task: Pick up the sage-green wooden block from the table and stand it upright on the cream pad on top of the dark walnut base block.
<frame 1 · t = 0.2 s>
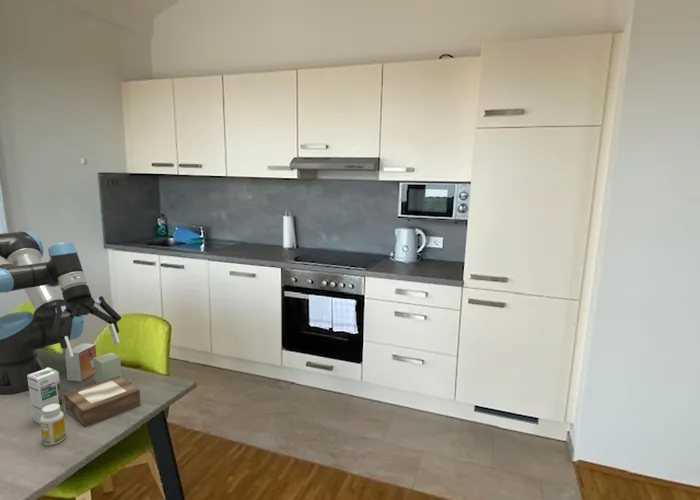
hand: (95, 350, 144), 15 cm above the table, tool tilted 30°, fingers open, 13 cm apart
walnut base: (103, 407, 140), on the table
supplement bottle: (54, 440, 124), on the table
syrup box: (48, 419, 133), on the table
sage block: (109, 382, 155), on the table
small box: (83, 376, 159), on the table
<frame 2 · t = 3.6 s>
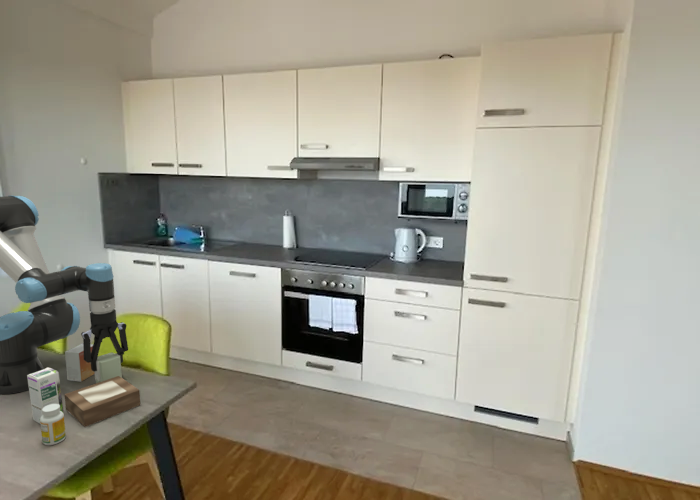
hand: (108, 375, 155), 2 cm above the table, tool pointing down, fingers closed on sage block, 6 cm apart
sage block: (109, 382, 155), on the table, touching gripper
everything else where it was.
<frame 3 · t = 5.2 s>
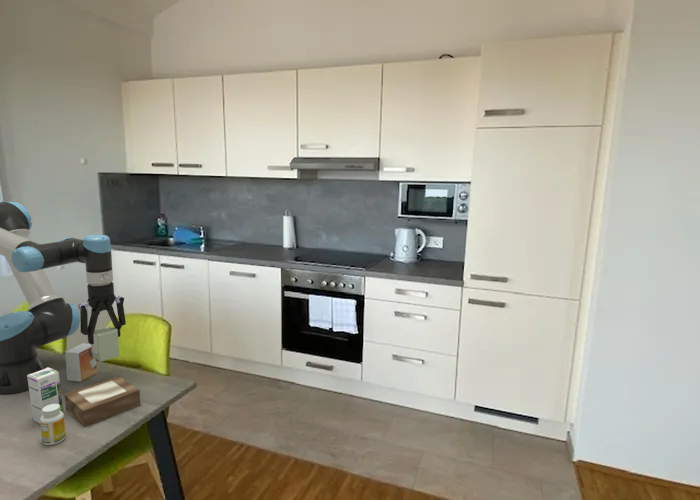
hand: (105, 349, 153), 12 cm above the table, tool pointing down, fingers closed on sage block, 6 cm apart
sage block: (106, 356, 154), point 9 cm above the table, touching gripper
everything else where it was.
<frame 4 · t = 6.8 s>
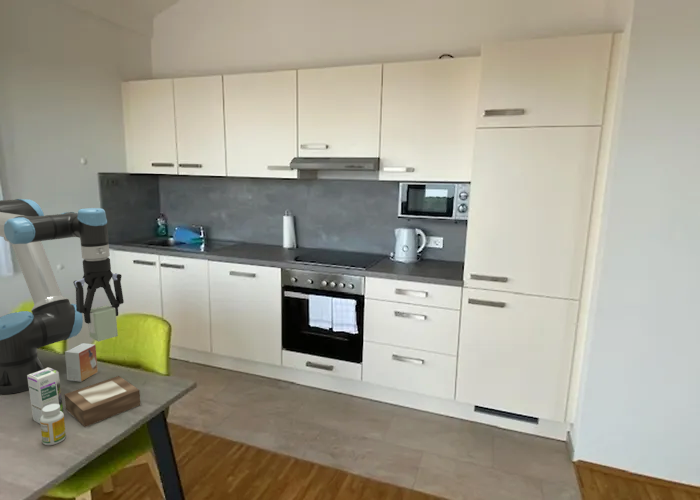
hand: (103, 329, 146), 21 cm above the table, tool pointing down, fingers closed on sage block, 6 cm apart
sage block: (103, 336, 146), point 19 cm above the table, touching gripper
everything else where it was.
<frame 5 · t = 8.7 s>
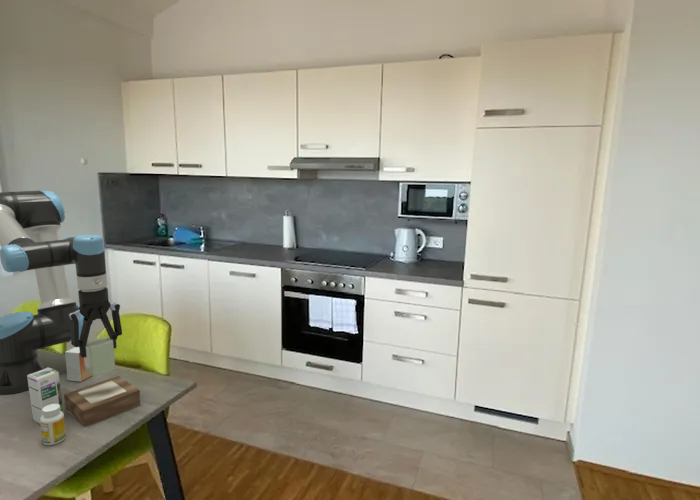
hand: (99, 362, 137), 15 cm above the table, tool pointing down, fingers closed on sage block, 6 cm apart
sage block: (100, 370, 137), point 12 cm above the table, touching gripper
everything else where it was.
when the fingers open (9 cm above the table, at t = 10.4 s): sage block drops 1 cm, resting on walnut base.
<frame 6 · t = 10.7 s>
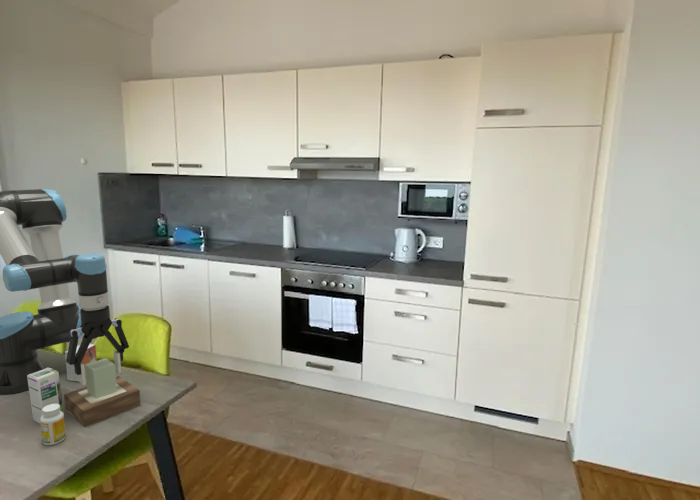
hand: (101, 377, 138), 10 cm above the table, tool pointing down, fingers open, 9 cm apart
sage block: (102, 391, 139), point 5 cm above the table, touching walnut base
everything else where it was.
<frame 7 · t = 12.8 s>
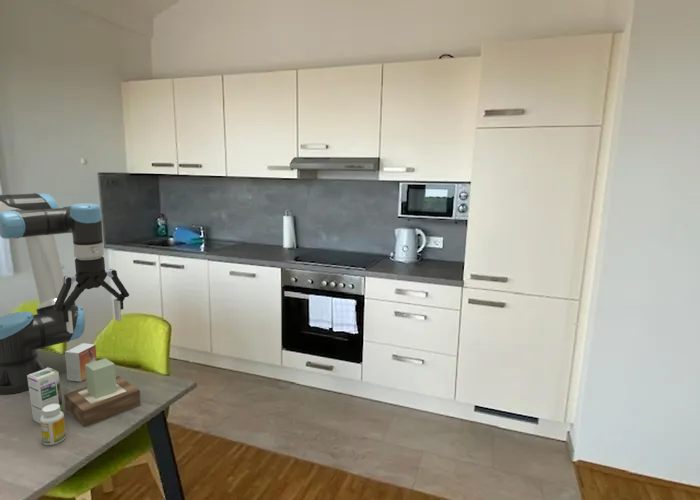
hand: (95, 325, 138), 25 cm above the table, tool pointing down, fingers open, 13 cm apart
nothing on the table moved.
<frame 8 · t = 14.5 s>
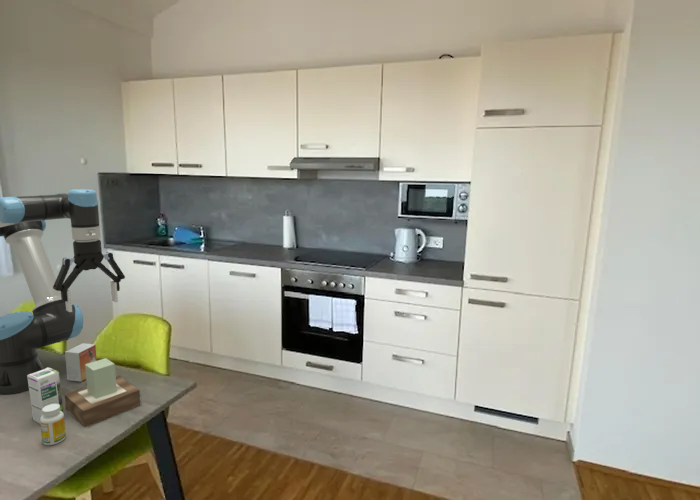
hand: (92, 306, 145), 29 cm above the table, tool pointing down, fingers open, 13 cm apart
nothing on the table moved.
at the end: sage block inside the target area on the walnut base (0.0 cm from its centre), point 5.1 cm above the walnut base's base; sage block tilted 0°; the gripper is holding nothing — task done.
